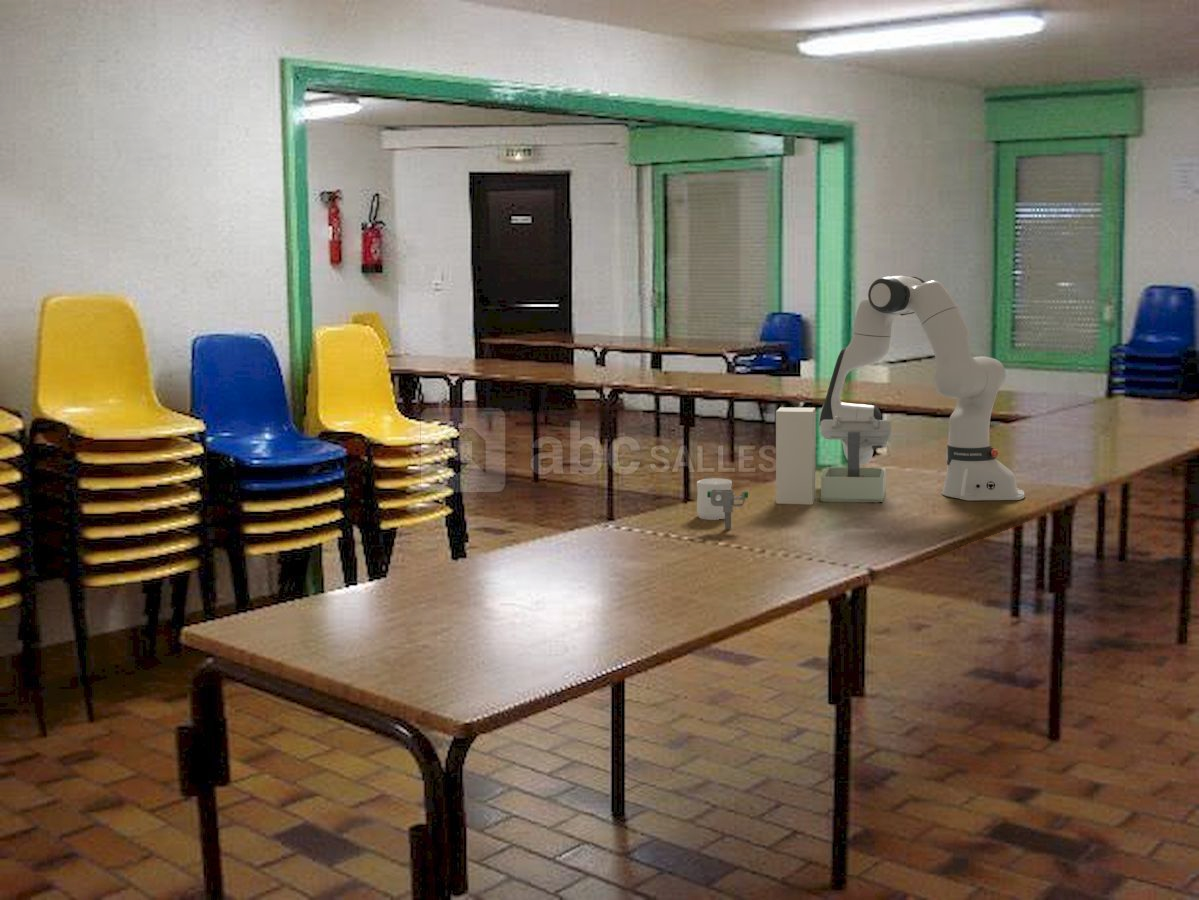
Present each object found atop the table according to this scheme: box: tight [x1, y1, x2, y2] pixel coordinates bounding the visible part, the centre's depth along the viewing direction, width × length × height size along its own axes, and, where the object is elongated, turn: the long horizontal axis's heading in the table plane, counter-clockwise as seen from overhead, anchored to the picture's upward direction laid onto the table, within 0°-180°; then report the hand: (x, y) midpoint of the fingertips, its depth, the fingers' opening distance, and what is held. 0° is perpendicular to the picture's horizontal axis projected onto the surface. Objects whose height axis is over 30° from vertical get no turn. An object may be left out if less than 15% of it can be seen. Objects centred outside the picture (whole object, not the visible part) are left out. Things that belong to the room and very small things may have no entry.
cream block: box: [775, 406, 816, 505], centre depth 371 cm, size 10×9×26 cm
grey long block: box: [843, 432, 864, 477], centre depth 375 cm, size 6×18×5 cm
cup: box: [696, 477, 733, 521], centre depth 354 cm, size 10×10×10 cm
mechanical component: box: [707, 489, 749, 530], centre depth 338 cm, size 3×10×10 cm, turn 79°
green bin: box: [820, 466, 887, 503], centre depth 377 cm, size 17×17×7 cm
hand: (854, 418), depth 375 cm, fingers open, 8 cm apart
